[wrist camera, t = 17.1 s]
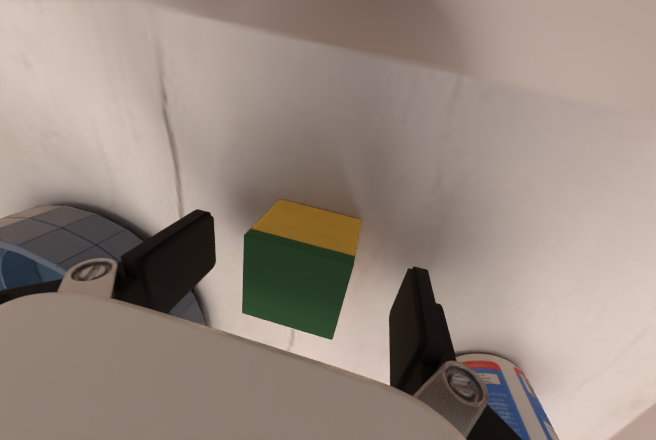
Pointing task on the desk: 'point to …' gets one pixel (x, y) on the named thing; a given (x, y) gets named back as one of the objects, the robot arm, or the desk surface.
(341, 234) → the sponge
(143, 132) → the desk surface
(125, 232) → the bowl
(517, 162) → the desk surface
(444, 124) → the desk surface
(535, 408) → the pill bottle
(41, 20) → the desk surface
